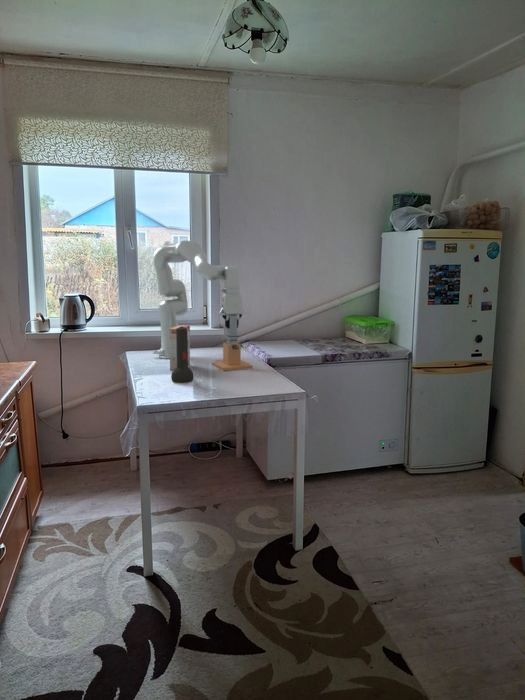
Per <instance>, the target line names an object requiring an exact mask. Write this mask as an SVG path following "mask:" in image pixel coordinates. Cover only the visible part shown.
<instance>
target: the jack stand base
mask: <svg viewBox="0 0 525 700" xmlns="http://www.w3.org/2000/svg"><path fill="white" fill-rule="evenodd" d="M237 343H238V344H230V345H229V344H226V342H223V343H222V360H218V361H217V360H216V361H211V366H213V367H214V368H217V369H218V368H219V369H218V370H220V369H221V370H220V371H222V370H223V371H222V372H226V371H225V370H230V371H237V370H236V369H240V370H249V369H248V368H251V369H253V365H252V364H250V363H248V362H246V361H244V360H242V358H241V349H242V348H241V346H242V344H241V343H239V342H237Z"/></svg>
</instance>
